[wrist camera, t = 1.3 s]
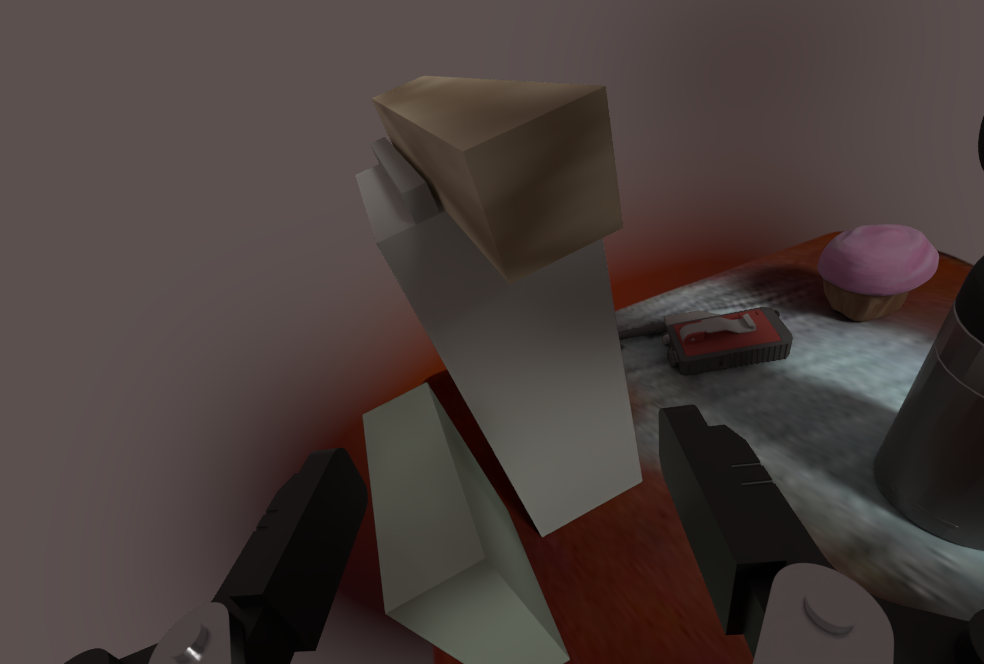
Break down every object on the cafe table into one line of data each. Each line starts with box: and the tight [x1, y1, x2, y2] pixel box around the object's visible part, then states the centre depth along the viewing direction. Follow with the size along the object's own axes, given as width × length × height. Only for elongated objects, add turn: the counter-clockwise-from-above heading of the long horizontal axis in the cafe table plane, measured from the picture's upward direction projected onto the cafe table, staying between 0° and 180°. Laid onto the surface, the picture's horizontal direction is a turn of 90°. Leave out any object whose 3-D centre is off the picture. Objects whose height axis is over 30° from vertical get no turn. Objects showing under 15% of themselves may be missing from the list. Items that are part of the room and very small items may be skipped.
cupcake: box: [818, 224, 939, 322], centre depth 42 cm, size 9×9×10 cm
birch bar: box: [372, 76, 623, 284], centre depth 20 cm, size 4×23×4 cm, turn 21°
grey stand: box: [355, 137, 642, 537], centre depth 34 cm, size 11×15×34 cm
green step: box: [363, 382, 570, 664], centre depth 29 cm, size 5×13×20 cm, turn 21°
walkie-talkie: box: [618, 307, 793, 375], centre depth 47 cm, size 9×4×20 cm
